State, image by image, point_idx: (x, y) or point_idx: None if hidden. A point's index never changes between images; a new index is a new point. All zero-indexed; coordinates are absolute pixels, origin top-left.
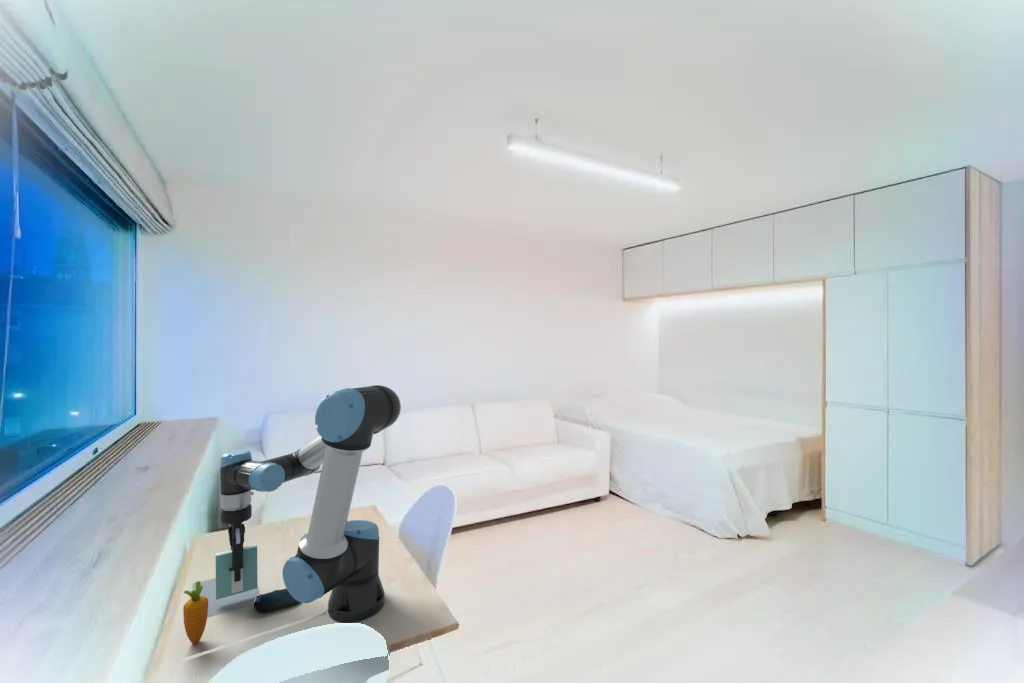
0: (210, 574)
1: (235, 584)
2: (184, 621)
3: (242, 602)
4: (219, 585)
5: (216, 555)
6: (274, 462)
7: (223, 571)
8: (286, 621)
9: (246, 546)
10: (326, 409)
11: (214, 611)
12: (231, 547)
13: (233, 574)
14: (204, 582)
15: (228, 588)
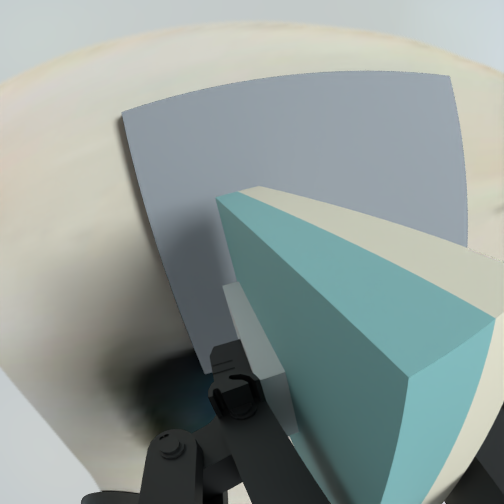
0: (486, 132)
1: (236, 328)
2: None
3: (224, 304)
4: (232, 233)
5: (451, 370)
6: None
7: (269, 308)
8: (81, 434)
9: None
10: None
11: (180, 193)
12: (491, 481)
13: (248, 365)
14: (449, 112)
15: (239, 277)
